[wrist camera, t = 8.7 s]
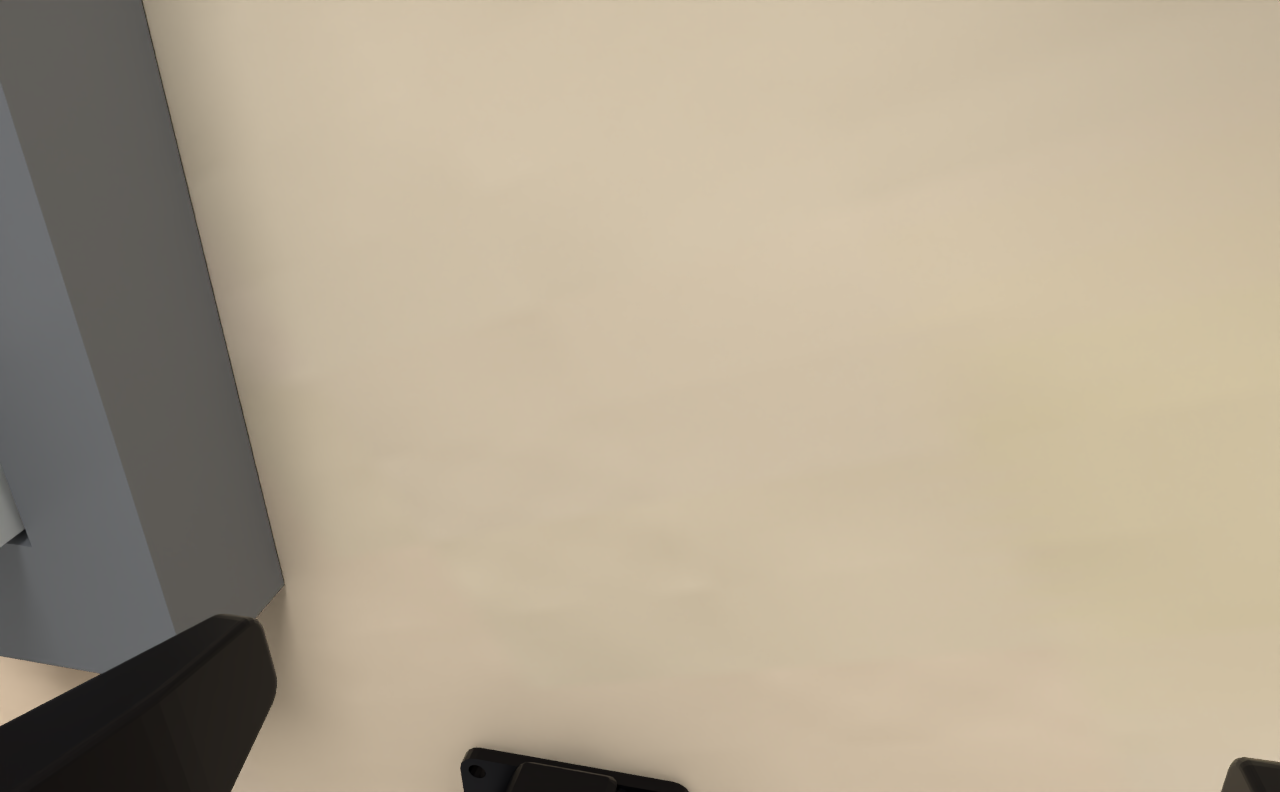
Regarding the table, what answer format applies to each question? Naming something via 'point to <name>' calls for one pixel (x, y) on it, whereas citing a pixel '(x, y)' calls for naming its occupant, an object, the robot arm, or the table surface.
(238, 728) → the robot arm
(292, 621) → the table surface
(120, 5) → the block
